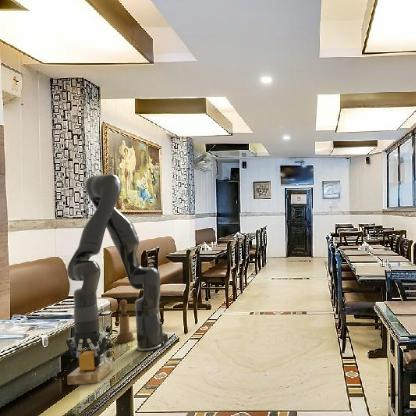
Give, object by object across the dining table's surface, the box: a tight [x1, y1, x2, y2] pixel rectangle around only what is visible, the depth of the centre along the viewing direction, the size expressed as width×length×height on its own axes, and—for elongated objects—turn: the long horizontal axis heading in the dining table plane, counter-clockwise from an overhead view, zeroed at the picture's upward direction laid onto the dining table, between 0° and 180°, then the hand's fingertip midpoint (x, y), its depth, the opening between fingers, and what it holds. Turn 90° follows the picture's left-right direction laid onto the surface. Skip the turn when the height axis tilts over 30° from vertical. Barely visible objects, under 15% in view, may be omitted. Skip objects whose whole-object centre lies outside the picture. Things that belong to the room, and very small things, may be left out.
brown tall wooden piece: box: [116, 299, 134, 344], centre depth 188 cm, size 7×6×18 cm
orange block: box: [78, 350, 95, 370], centre depth 149 cm, size 4×4×5 cm
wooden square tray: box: [66, 362, 111, 386], centre depth 149 cm, size 10×10×3 cm
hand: (89, 366), depth 149 cm, fingers closed on orange block, 4 cm apart
